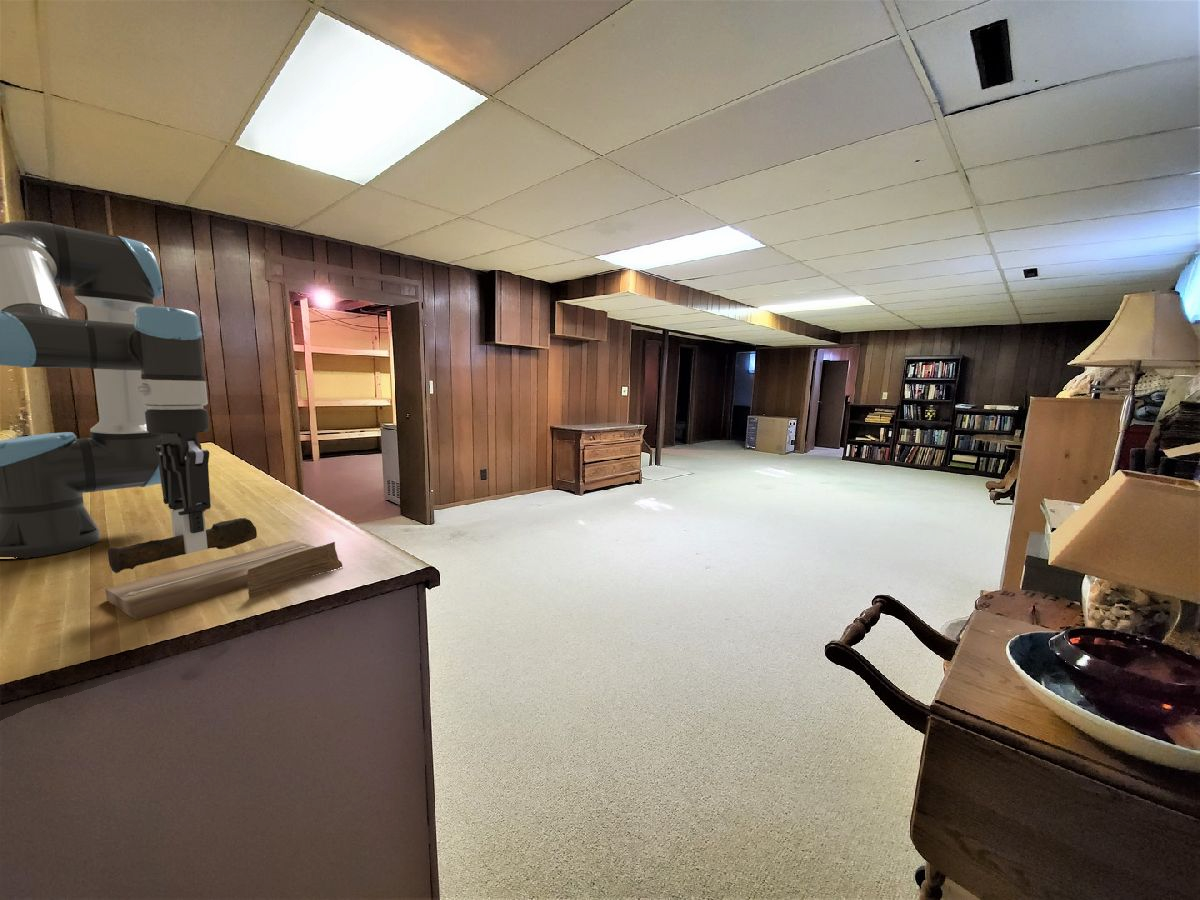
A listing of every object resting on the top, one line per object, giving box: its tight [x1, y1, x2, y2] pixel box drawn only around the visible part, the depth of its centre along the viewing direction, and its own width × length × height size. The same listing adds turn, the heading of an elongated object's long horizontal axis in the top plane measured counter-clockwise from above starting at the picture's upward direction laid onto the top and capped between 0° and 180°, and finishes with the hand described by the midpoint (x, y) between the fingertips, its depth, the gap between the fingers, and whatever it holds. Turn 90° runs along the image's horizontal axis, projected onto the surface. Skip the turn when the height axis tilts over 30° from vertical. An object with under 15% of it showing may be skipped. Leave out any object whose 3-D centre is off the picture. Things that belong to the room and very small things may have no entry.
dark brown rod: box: [107, 517, 258, 574], centre depth 76 cm, size 19×4×5 cm, turn 147°
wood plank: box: [246, 541, 343, 599], centre depth 81 cm, size 15×2×5 cm, turn 155°
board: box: [105, 539, 316, 621], centre depth 82 cm, size 12×28×2 cm, turn 151°
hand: (191, 548), depth 77 cm, fingers closed on dark brown rod, 3 cm apart
